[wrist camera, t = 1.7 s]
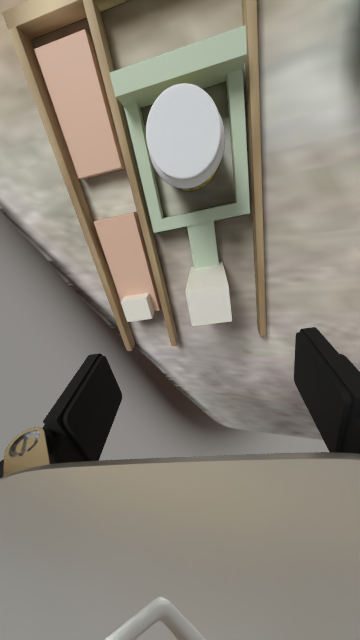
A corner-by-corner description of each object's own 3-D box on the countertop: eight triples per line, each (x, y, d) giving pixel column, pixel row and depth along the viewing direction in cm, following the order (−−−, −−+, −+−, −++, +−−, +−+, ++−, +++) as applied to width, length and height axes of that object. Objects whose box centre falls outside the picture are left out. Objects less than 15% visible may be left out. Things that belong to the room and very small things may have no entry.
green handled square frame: (239, 53, 16) (259, -37, 10) (251, 285, 24) (267, 317, 17) (123, 91, 17) (79, 34, 11) (171, 297, 25) (160, 330, 19)
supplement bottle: (182, 202, 21) (169, 205, 13) (152, 149, 19) (118, 120, 12) (230, 167, 19) (245, 149, 12) (201, 106, 18) (197, 41, 10)
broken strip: (91, 38, 16) (74, 14, 14) (161, 308, 26) (157, 318, 24) (43, 56, 17) (20, 36, 15) (128, 312, 27) (122, 322, 25)
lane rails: (249, -71, 14) (253, -99, 12) (263, 328, 26) (266, 335, 25) (18, 27, 16) (1, 12, 15) (130, 343, 29) (127, 350, 28)
